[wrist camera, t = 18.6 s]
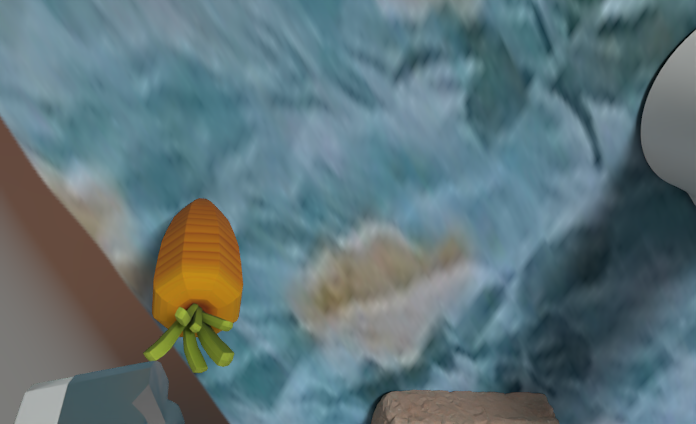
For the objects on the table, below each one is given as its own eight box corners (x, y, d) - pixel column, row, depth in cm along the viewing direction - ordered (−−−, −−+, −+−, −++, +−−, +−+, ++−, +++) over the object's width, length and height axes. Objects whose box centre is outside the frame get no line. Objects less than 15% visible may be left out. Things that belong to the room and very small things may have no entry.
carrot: (150, 215, 42) (120, 386, 29) (184, 156, 40) (167, 311, 27) (218, 243, 44) (217, 414, 31) (253, 188, 42) (267, 346, 30)
